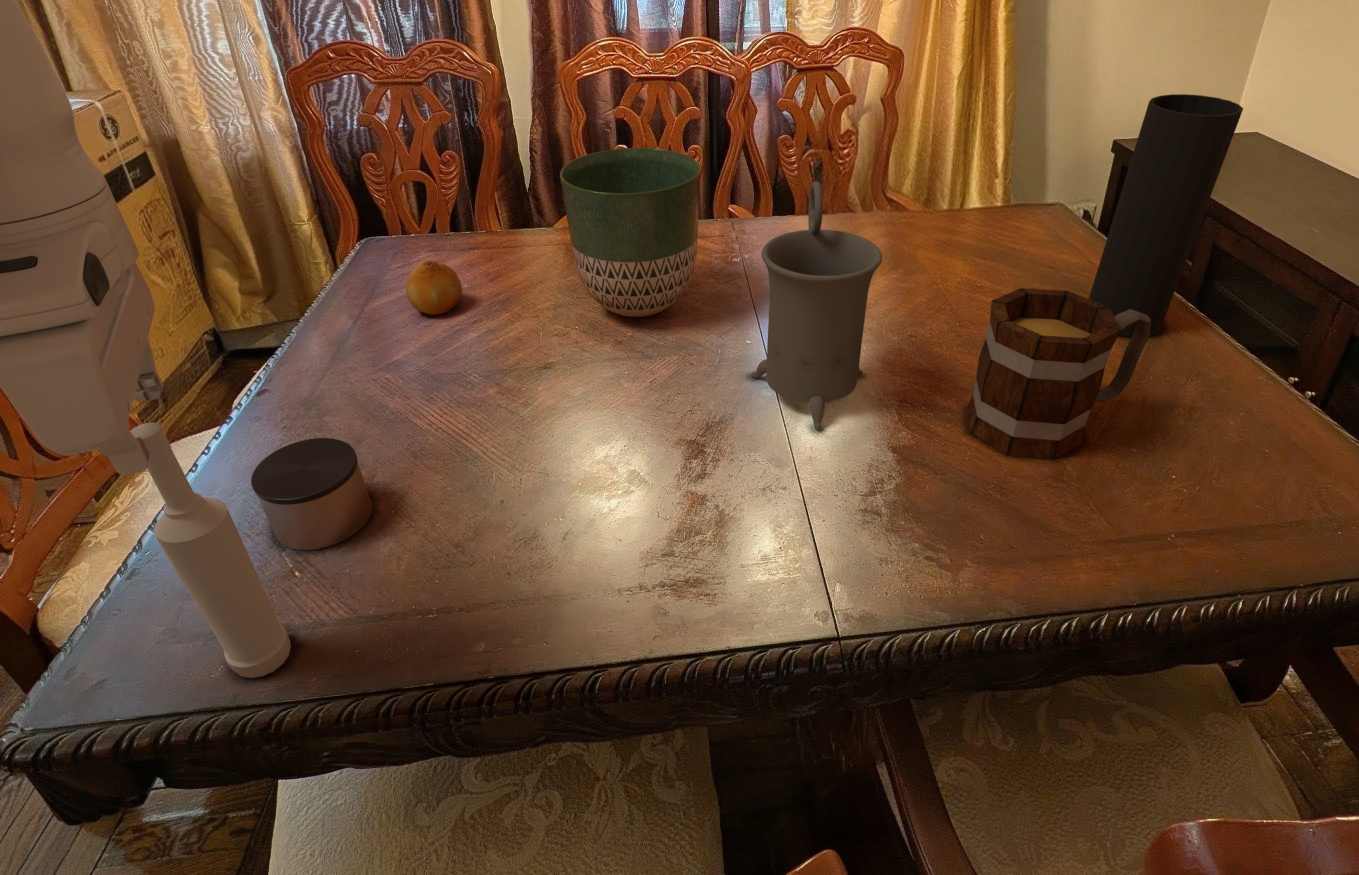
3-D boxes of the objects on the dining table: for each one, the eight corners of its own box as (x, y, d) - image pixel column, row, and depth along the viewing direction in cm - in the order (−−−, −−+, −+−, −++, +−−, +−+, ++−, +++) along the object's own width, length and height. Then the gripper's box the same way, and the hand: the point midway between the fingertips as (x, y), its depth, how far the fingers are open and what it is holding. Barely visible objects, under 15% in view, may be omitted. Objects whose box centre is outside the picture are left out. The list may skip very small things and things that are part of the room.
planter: (721, 323, 119) (722, 180, 107) (596, 350, 114) (581, 202, 101) (674, 271, 134) (670, 140, 121) (561, 293, 129) (545, 158, 116)
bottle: (280, 679, 70) (162, 451, 55) (220, 681, 70) (87, 453, 55) (301, 632, 74) (198, 408, 59) (245, 634, 74) (128, 411, 59)
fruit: (452, 310, 120) (446, 256, 119) (400, 315, 120) (393, 261, 119) (470, 313, 128) (465, 263, 127) (421, 318, 128) (415, 267, 128)
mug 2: (879, 431, 97) (909, 233, 82) (756, 432, 97) (764, 236, 82) (854, 351, 112) (876, 172, 97) (748, 353, 112) (754, 174, 97)
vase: (1097, 337, 113) (1168, 116, 95) (1074, 304, 121) (1136, 94, 103) (1173, 338, 112) (1259, 115, 94) (1145, 304, 120) (1220, 93, 103)
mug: (1000, 468, 90) (1032, 353, 81) (944, 403, 101) (966, 295, 92) (1154, 442, 93) (1201, 329, 84) (1084, 382, 104) (1119, 275, 95)
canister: (308, 565, 81) (286, 513, 77) (254, 525, 86) (231, 474, 82) (392, 510, 87) (376, 459, 83) (337, 475, 92) (320, 426, 88)
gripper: (24, 198, 55) (114, 369, 64) (-68, 330, 40) (67, 531, 48) (126, 184, 57) (201, 351, 65) (76, 304, 42) (182, 502, 50)
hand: (144, 429), depth 57 cm, fingers open, 8 cm apart
